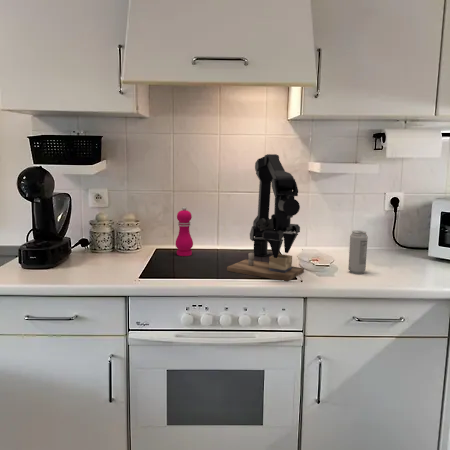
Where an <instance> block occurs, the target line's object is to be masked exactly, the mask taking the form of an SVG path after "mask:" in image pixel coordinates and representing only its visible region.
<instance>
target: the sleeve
mask: <svg viewBox="0 0 450 450" xmlns="http://www.w3.org/2000/svg"><path fill="white" fill-rule="evenodd" d="M279 257H284V258H279ZM268 263H269V271H275V272H281V273H286V272H288V271H290V270H291V269H292V266H293V255H289V254H288V255H287V254H282V253H279V254H278V257H277V258H274V256H273V254H272V255H270V256H269V261H268Z"/></svg>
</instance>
